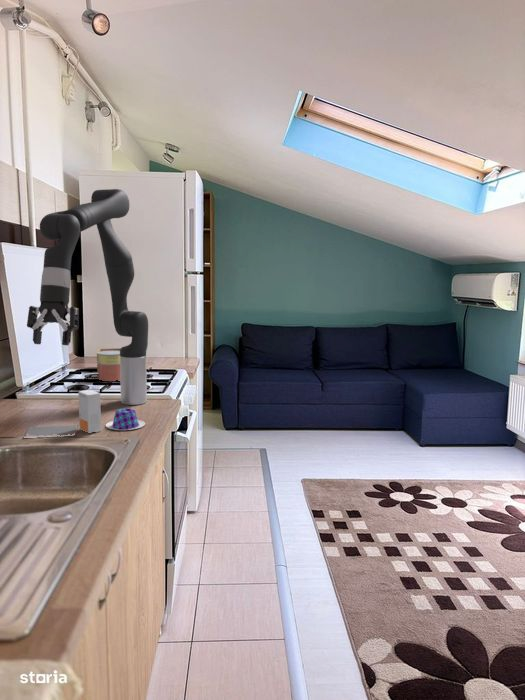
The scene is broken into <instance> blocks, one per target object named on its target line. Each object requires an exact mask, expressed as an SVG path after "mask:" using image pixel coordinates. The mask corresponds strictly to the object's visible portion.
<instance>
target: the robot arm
mask: <svg viewBox="0 0 525 700" xmlns="http://www.w3.org/2000/svg"><path fill="white" fill-rule="evenodd" d="M90 198H91V202H87V203H82V204H79V205H76V206H74V207H70V208H69V209H66V210H62V211H55V212H50V213H48V214H46V215H44V216H43V217H42V218H41V220H40V222H39V231H40V233H41V235H42V236H43V237H44V238H45V239H47V240H49V241H58V243H56V244H55V245H53V246H50V247H47V248H46V249H45V251H44V255H43V256H44V257H43V268H42V272H41V273H42V274H41V279H40V280H41V283H40V293H39V301H40V306H34V305H30V306H29V307H28V314H27V322H26V327H27V328H30V329H31V330H33V334H32V342H33V343H34V345H41V344H42V335H43V331H42V330H43V328H44V327H45V326H46V325H48V324H49V323H50V324H51V323H52V324H53V323H56V324H59V325H60V326H61V328H62V329H63V331H62V340H61V345H62V346H69V345H70V344H71V340H72V332H73V331H76V330H79V329H80V328H79V326H80V325H79V324H80V323H79V322H80V321H79V319H80V317H79V315H80V310H79V308H78V307H74V306H71V307H69V303H70V295H71V294H70V293H71V279H72V276H71V268H72V256H73V253H74V251H75V248H76V246H77V243H78V241H79V237H80V235H81V232H83V231H85V230H87V229H88V230H89V228H92V227H94V226H95V225H96V227H97V228H96V229H97V231H98V235H99V238H100V239H99V240H100V243H101V244H100V245H101V248H102V253H103V260H104V266H105V271H106V275H107V280H108V285H109V290H110V291H109V292H110V296H111V305H112V307H111V308H112V319H113V325H114V330H115V332H116V333H117V334H118V335H119V336H120V337H129V338H131V342H130V344H128V345H125V346H122V347H121V349H120V382H119V383H120V403H121V404H122V405H130V406H135V405H142V404H145V403H147V402H148V401H147V400H148V399H147V395H148V394H147V392H148V391H147V390H148V389H147V387H148V386H147V384H148V383H147V350H148V344H149V343H148V342H149V341H148V340H149V319H148V316H147V314H146V313H145V312H143V311H135V310H129V309H128V307H129V306H128V299H127V297H128V293H129V291H130V288H131V287H132V283H133V280H134V278H135V268H134V267H135V266H134V262H133V257H132V254H131V252H130V250H129V249H128V247H126V245H125V244H124V243H123V242H122V240H121V239H120V238H119V237H118V235H117V234H116V232H115V230H114V227H113V224H112V219H120V218H124V217H126V216H127V215H128V213H129V212H130V211H129V210H130V199H129V196H128V195H127V193H126V192H125V190H123V189H120V188H119V189H118V188H111V189H109V188H108V189H97V190H94V191H93V192H92V195H91V197H90ZM39 314H40V315H39ZM67 315H69V319H68V318H67Z"/></svg>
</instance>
